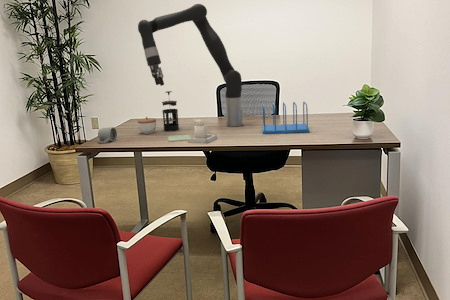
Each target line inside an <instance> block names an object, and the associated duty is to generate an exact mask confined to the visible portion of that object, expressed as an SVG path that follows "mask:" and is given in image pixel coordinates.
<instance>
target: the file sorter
mask: <svg viewBox="0 0 450 300" xmlns="http://www.w3.org/2000/svg"><path fill="white" fill-rule="evenodd" d="M302 103H303V104H302V113H303V121H302V122H303V123H298V110H297V109H298V108H297V103H296V101H293V103H292V106H293V107H292V113H293V114H292V115H293V117H292V118H293V119H292V121H293V123H290V124H288V123H287V105H286V103H285V102H283V103H282V118H283V119H282V121H283V123H282V124H277V122H276V121H277V118H276V114H277V113H276V104H275V102H273V103H272V114H273V115H272V119H273V122H272V123H273V124H268V125H266V116H265V115H266V114H265V112H266V110H265V104H264V103H262V121H263V124H262V126H261V128H262V129H261V130H262V134H263V135H271V134H272V133H275V134H292V133H293V134H295V133H294V132H299V133H302V132H303V133H310V128H309V127H308V118H309V117H308V116H309V115H308V112H309V111H308V103H306V101H303V102H302ZM305 108H306V109H305ZM305 111H306V114H305ZM305 115H306V123H305ZM272 135H273V134H272Z"/></svg>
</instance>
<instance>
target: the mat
mask: <svg viewBox="0 0 450 300" xmlns="http://www.w3.org/2000/svg"><path fill="white" fill-rule="evenodd" d="M188 138H192V137H191V134H182V135H181V134H177V135H169V136H168V137H167V139H168V140H167V142H168V143H169V142H170V143H171V142H183V141H184V142H185V141H187V142H188Z"/></svg>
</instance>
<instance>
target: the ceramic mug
mask: <svg viewBox="0 0 450 300" xmlns="http://www.w3.org/2000/svg"><path fill="white" fill-rule="evenodd" d="M97 137H98V138H97V141H98V144H101V145H102V144H103V145H104V144H106V143H108V142H116V141H117V137H118V132H117V129H116V128H115V127H114V126H113V127H111V126H110V127H101V128H100V129H99V130H98V132H97Z"/></svg>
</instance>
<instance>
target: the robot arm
mask: <svg viewBox="0 0 450 300" xmlns="http://www.w3.org/2000/svg"><path fill="white" fill-rule="evenodd" d="M207 14H208V10H207V8H206V6H205V5H204V4H201V3H196V4H194V5H192V6H191V7H187V8H186V9H183V10H180V11H177V12H172V13H168V14H164V15H161V16H158V17H155V18H153V19H152V20H149V21H148V20H147V19H142V20H140V21H139V22H138V24H137V31H138V33H139V34H140V37H141V42H142V43H141V44H142V47H143V50H144V57H145V60H146V63H147V66H148V67H149V70H150V73H151V77H152V78H153V79H154V82H155V85H156V86H158V85H159V86H165V82H164V74H163V71H162V68H161V66H159V65H160V64H162V60H161V58H160V57H161V56H160V54H159V50H158V47H157V44H156V41H155V38H154V33H156V32H158V31H161V30H164V29H165V30H166V29H168V28H172V27H175V26H177V25H180V24H184V23H187V22H191V21H192V22H193V24H194V26H195V27H196V28H197V30H198V31H199V33H200V35H201V38H202V40H203V42H204V45H205V46H206V49H207V50H208V52H209V54H210V55H211V57H212V59H213V61H214V62H215V64H216V65H217V67H218V69H219V70H220V74H221V76H222V79H223V81H224V83H225V84H226V85H225V86H226V87H225V88H226V91H225V111H226V113H225V114H226V126H227V127H240V126H243V123H244V122H243V109H242V87H243V86H242V83H243V81H242V75H241V73H240V72H239V71H238V70H235V68H234V67H233V65H232V64H231V61H230V60H229V55H228V53H227V50H226V47H225V45H224V43H223V42H222V40H221V36H219V35H218V33H217V32H216V30H214V29H213V27H212V26H211V24H210V22H209V20H208V18H207Z"/></svg>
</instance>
